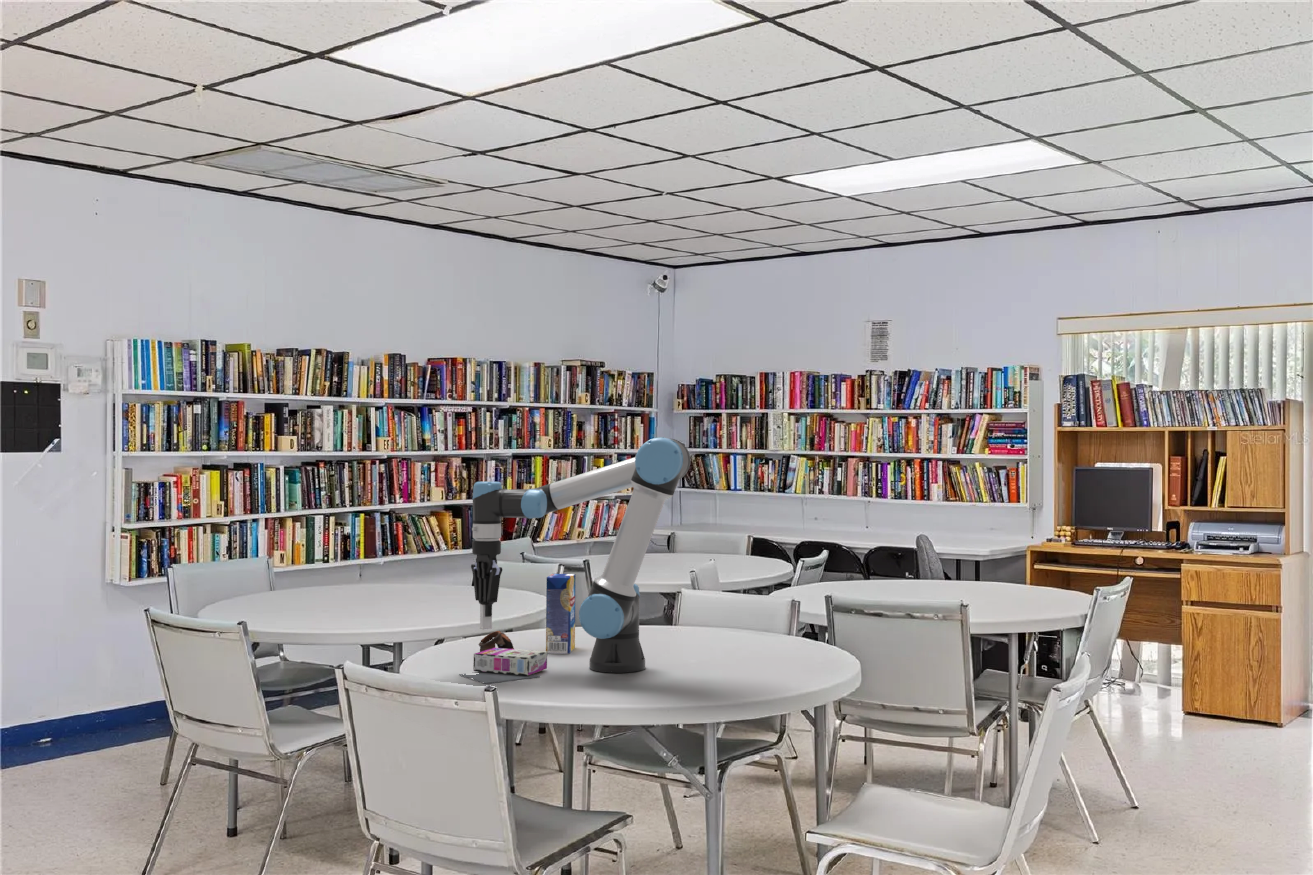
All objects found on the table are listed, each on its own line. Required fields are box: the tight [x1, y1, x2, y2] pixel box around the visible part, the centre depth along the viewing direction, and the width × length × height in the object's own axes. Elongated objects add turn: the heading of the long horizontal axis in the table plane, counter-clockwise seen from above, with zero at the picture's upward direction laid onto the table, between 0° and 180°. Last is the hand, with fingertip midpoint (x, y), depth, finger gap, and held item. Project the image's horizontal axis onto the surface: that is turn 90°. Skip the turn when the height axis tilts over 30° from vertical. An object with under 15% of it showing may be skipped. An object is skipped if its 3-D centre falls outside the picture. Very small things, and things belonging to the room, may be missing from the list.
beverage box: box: [545, 573, 576, 655], centre depth 335 cm, size 7×11×22 cm, turn 175°
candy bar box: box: [472, 647, 548, 676], centre depth 301 cm, size 11×5×16 cm
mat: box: [458, 671, 541, 685], centre depth 295 cm, size 14×16×1 cm
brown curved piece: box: [478, 630, 515, 652], centre depth 325 cm, size 12×10×8 cm
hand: (485, 628), depth 301 cm, fingers closed
